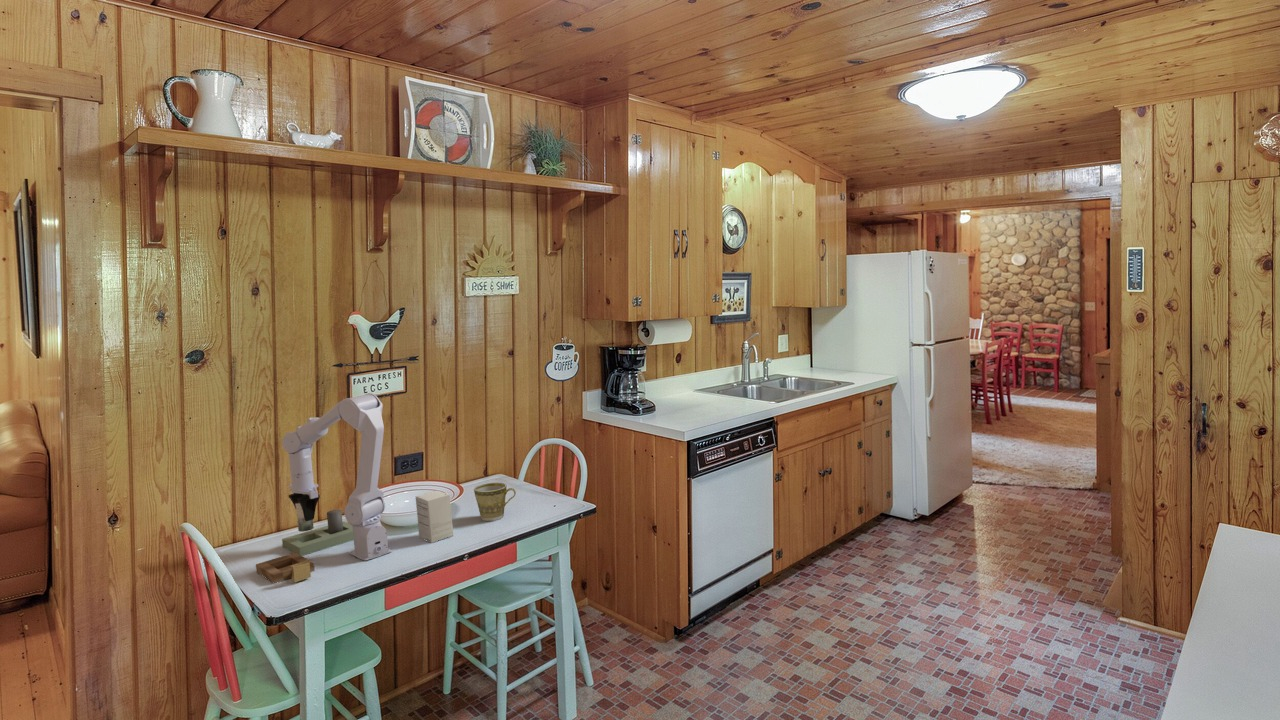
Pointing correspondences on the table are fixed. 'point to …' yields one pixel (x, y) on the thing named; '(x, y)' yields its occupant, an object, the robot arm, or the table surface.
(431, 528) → the supplement box
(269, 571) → the socket holder
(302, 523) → the steel peg
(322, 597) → the table surface
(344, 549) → the table surface
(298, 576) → the tan block with bar
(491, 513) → the ceramic cup
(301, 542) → the tool rack
